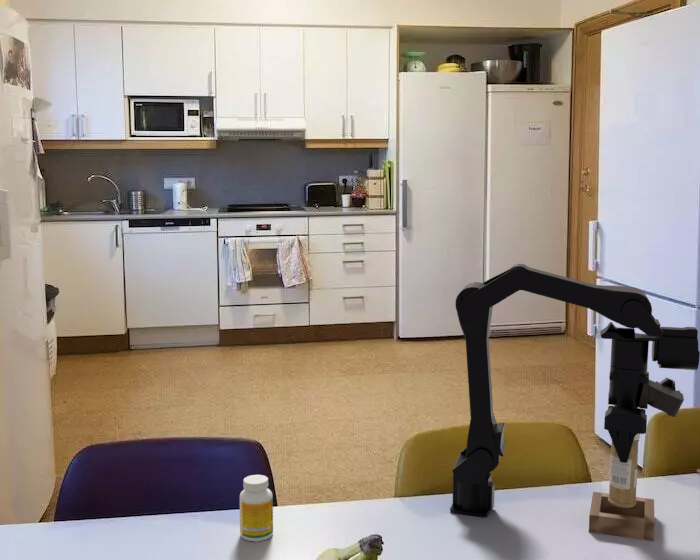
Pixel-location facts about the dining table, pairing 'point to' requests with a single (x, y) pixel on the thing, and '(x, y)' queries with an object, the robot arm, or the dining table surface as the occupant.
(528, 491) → the dining table surface
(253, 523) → the supplement bottle
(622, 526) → the walnut socket
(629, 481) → the sprinkles bottle
